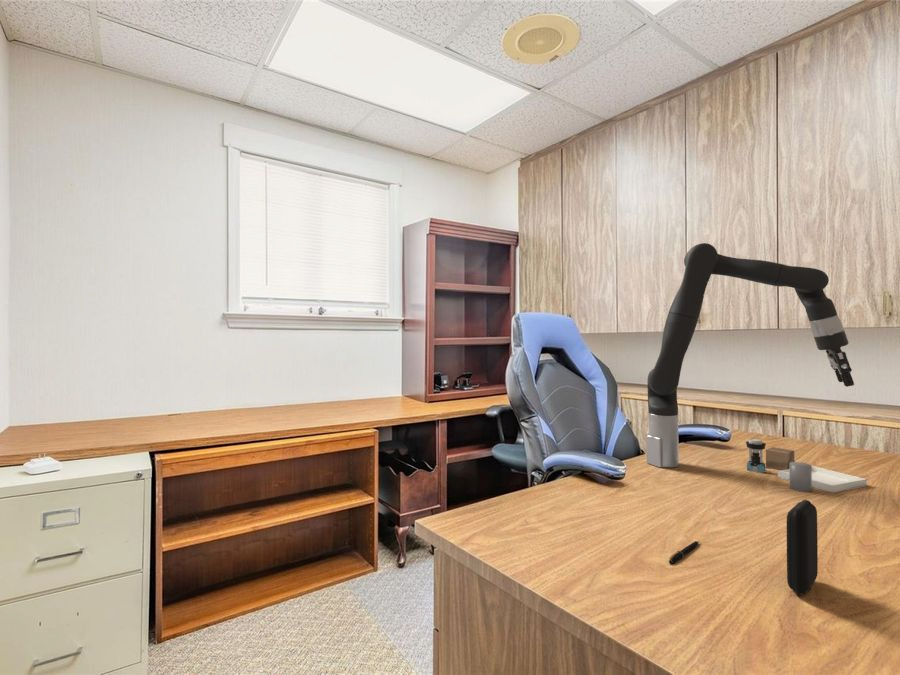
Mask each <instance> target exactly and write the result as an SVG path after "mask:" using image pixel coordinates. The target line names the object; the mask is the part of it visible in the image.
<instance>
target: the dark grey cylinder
mask: <svg viewBox="0 0 900 675" xmlns="http://www.w3.org/2000/svg"><path fill="white" fill-rule="evenodd" d="M812 466H813V465H811V464H809V463H806V462H802V461H801V462H800V461H795V462H790V463H789V468H790V481H789V489H791V490H793V491H797V492H800V493H801V492H803V493H809V492H812V491H813V489H812V488H813V487H812Z"/></svg>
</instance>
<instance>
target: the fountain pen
mask: <svg viewBox="0 0 900 675" xmlns="http://www.w3.org/2000/svg"><path fill="white" fill-rule="evenodd" d="M699 543H700V540H695V541H693V542H691V543H690V544H688V545H687V546H685V547H683V549H681V550H678V549H677V550H676V551H674V552H673V553H672V554H670V556H669V557H668V558H669V560H668V564H671V565H673V564H676V562H679V561H680V560H681V559H683V558H685V556H686V555H687V554H689V553H690V552H691V551H692V550H693V549H695V548H696V547H698V545H699Z"/></svg>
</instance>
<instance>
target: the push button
mask: <svg viewBox="0 0 900 675" xmlns="http://www.w3.org/2000/svg"><path fill="white" fill-rule="evenodd" d="M745 444H746V448H747V449H748V452H749V454H748V459H747V462H746V471H749V472H756V473H761V474H762V473H763V474H765V472H769V473H772V469H771V468H767V467H766V462H764V460H763V450H766V445H767V444H766V442H763V439H758V438H749V439H748V441H745Z"/></svg>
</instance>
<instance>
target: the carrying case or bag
mask: <svg viewBox="0 0 900 675" xmlns="http://www.w3.org/2000/svg"><path fill="white" fill-rule="evenodd" d="M818 551H819V550H818V511H817V507H816V506H815V505H814V504H812V503H811V501H810V500H807V499H803V500H801V501H799V502H797V503H796V504H795V505H794V506H793V507H792V508H790V510H789V511H788V512H787V514H786V580H787V581H786V582H787V585H788V588H790V590H792V592H793V593H794V594H796V595H798V596H799V595H800V596H801V595H802V594H805V593H807V592H809V590H810V589H811V588H812V585H813V584H814V582H816V580H817V577H818V574H819V573H818V571H819V569H818V566H819V565H818V564H819V563H818V562H819V561H818V560H819V559H818V557H819V556H818Z"/></svg>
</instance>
